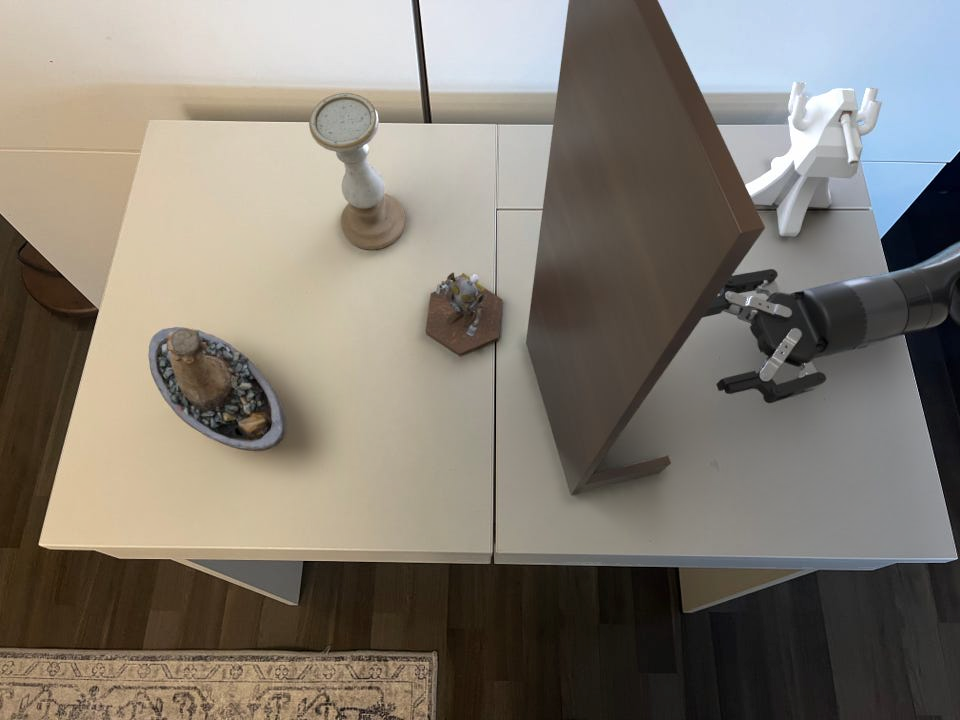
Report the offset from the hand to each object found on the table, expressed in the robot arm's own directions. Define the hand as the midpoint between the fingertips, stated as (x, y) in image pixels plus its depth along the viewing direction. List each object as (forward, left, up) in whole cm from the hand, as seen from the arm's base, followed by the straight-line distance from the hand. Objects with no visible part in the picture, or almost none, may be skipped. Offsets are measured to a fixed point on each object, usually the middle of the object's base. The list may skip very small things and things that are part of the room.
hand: (704, 348), depth 70 cm
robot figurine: (+27, -6, -12) cm, 30 cm away
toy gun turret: (-15, -28, -12) cm, 34 cm away
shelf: (+10, +4, -12) cm, 16 cm away
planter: (+53, +9, -12) cm, 55 cm away
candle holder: (+41, -19, -12) cm, 47 cm away
